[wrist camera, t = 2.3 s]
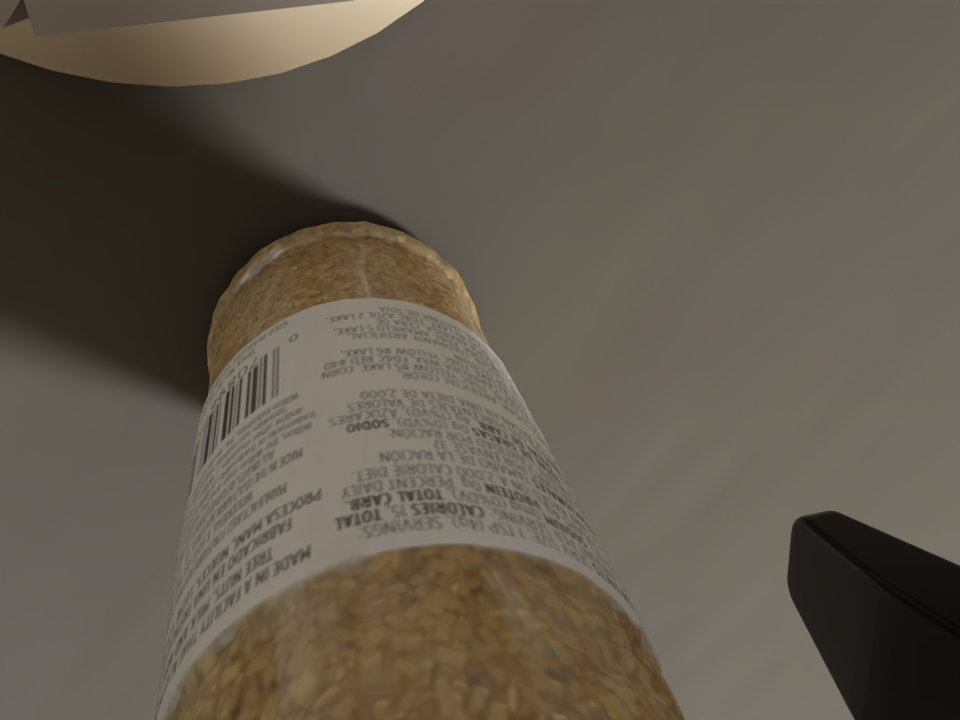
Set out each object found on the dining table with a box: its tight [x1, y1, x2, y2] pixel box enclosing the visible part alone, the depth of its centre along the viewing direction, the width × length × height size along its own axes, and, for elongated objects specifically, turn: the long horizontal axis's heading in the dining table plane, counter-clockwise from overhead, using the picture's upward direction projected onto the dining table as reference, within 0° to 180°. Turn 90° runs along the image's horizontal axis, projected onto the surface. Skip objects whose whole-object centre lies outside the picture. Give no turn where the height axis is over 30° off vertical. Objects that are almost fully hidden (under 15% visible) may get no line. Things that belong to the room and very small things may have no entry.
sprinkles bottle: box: [155, 221, 685, 720], centre depth 9 cm, size 5×5×13 cm
